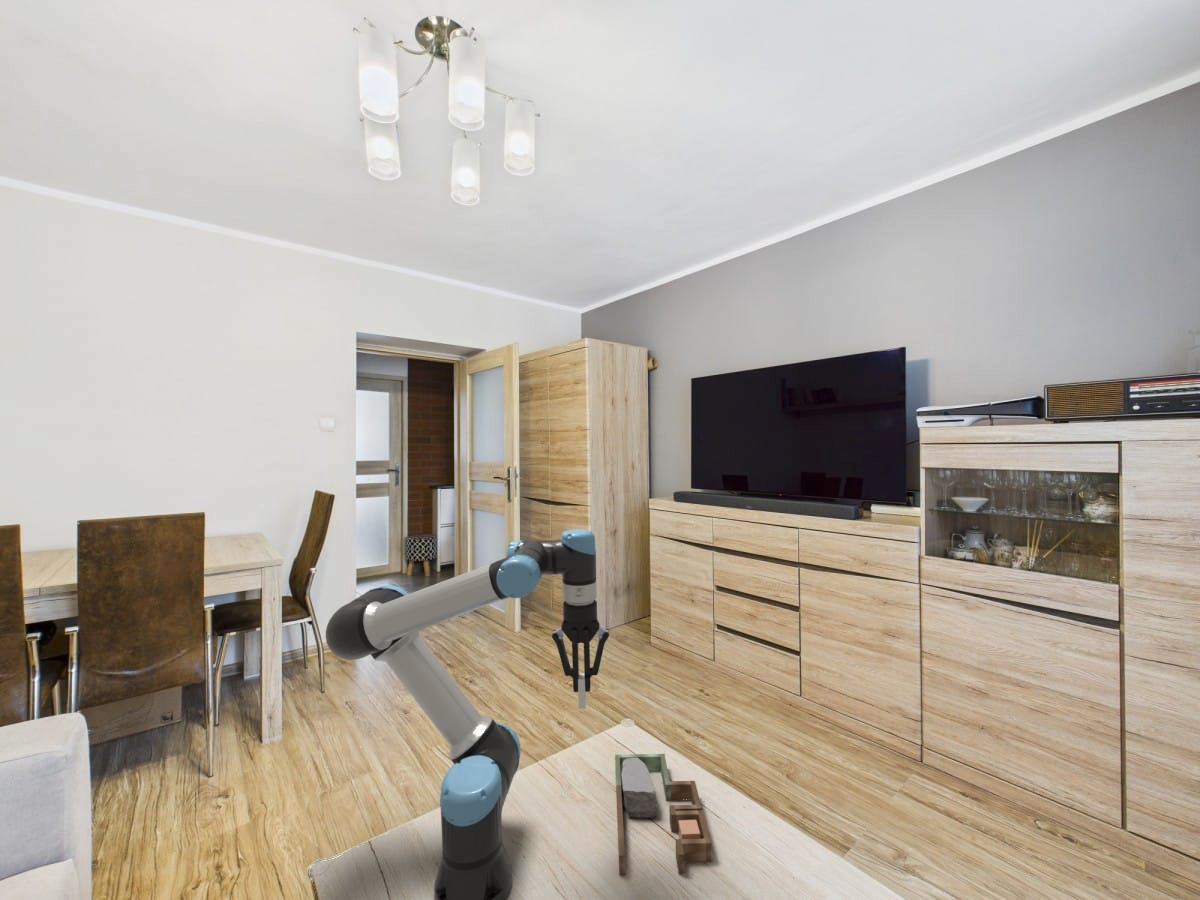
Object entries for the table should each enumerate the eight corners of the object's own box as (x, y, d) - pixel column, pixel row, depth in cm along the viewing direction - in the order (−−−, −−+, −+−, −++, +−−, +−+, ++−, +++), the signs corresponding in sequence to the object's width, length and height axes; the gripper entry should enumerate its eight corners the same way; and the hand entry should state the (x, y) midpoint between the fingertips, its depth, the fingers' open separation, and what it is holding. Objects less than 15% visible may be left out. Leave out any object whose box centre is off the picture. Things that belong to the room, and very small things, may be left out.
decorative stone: (633, 830, 116) (670, 814, 120) (632, 801, 116) (668, 786, 120) (606, 791, 129) (640, 778, 133) (604, 765, 129) (638, 752, 133)
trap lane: (619, 874, 104) (618, 855, 104) (615, 769, 137) (615, 754, 137) (714, 873, 103) (714, 854, 103) (687, 767, 137) (687, 753, 137)
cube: (682, 852, 109) (681, 834, 109) (678, 837, 113) (678, 820, 113) (700, 851, 109) (700, 833, 109) (696, 837, 113) (696, 819, 113)
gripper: (548, 606, 108) (551, 715, 109) (609, 605, 108) (611, 713, 109) (552, 595, 116) (554, 697, 116) (609, 594, 116) (611, 696, 116)
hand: (582, 705), depth 113 cm, fingers closed
